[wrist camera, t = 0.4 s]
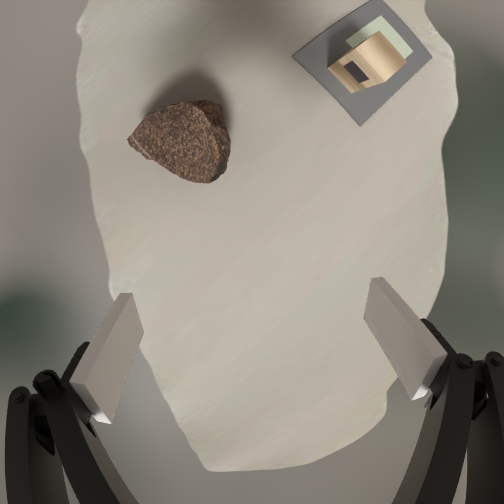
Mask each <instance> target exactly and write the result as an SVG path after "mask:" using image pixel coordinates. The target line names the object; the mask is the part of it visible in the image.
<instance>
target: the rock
mask: <svg viewBox="0 0 504 504" xmlns="http://www.w3.org/2000/svg"><path fill="white" fill-rule="evenodd" d="M127 140H128V142H129V145H130V146H131V147H133V148H134V149H135V150H136V151H138V152H140V153H141V154H142V155H143V156H144V157H145V158H146V159H150V160H154V161H155V162H157V163H158V164H159V165H161V166H163V167H165V168H166V169H168V170H169V171H170V172H172V173H173V174H176V175H178V176H179V177H181V178H183V179H186V180H188V181H192V182H197V183H211V182H213V181H215V180H216V179H218V178H219V177H220V175H221V174H223V173H224V172H225V171H226V169H227V162H228V157H229V155H230V142H231V141H230V138H229V135H228V133H227V129H226V126H225V122H224V117H223V110H222V107H221V106H220V105H219V104H215V103H213V102H211V101H207V100H202V101H194V102H190V101H183V102H180V103H179V104H176V105H175V104H172V105H169V106H167V107H163V108H159V109H156V111H155V112H154V113H151V114H149V115H148V116H146V117H145V118H144V120H143V121H142V122H141V123H140V124H139V125H138V127H137V128H136V129H135V131H134V132H133V133H132V134H131V136H130V137H129V138H128V139H127Z"/></svg>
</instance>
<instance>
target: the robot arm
mask: <svg viewBox="0 0 504 504" xmlns="http://www.w3.org/2000/svg"><path fill="white" fill-rule="evenodd" d="M363 318H364V320H365V321H366V323H367V325H368V326H369V328H370V330H371V331H372V333H373V334H374V336H375V338H376V339H377V341H378V343H379V344H380V346H381V348H382V349H383V351H384V353H385V354H386V356H387V358H388V359H389V361H390V363H391V365H392V366H393V368H394V370H395V372H396V373H397V375H398V377H399V378H400V380H401V382H402V384H403V386H404V387H405V389H406V391H407V393H408V395H409V397H410V398H411V400H414V399H417V398H420V397H423V396H425V394H426V392H427V391H428V389H429V387H430V389H431V391H432V392H433V393H432V394H431V396H430V397H429V399H428V401H427V402H426V404H425V406H424V407H426V406H427V404H428V407H427V411H426V415H425V419H424V422H423V426H422V429H421V432H420V435H419V439H418V442H417V445H416V447H415V450H414V453H413V456H412V459H411V461H410V464H409V466H408V469H407V471H406V474H405V476H404V479H403V481H402V483H401V485H400V488H399V490H398V492H397V494H396V496H395V498H394V500H393V502H392V504H452V501H453V498H454V495H455V492H456V488H457V485H458V482H459V478H460V475H461V471H462V467H463V463H464V458H465V453H466V449H467V490H466V501H465V504H504V357H503V356H502V355H501V354H500V353H498V352H494V351H492V352H489V353H487V355H486V357H485V358H484V360H479V361H473V360H472V358H471V357H469V356H468V355H466V354H461V353H459V354H457V353H456V352H455V351H454V349H452V347H451V346H450V344H449V343H448V342H447V341H446V340H445V338H444V337H442V335H441V334H440V332H439V331H437V329H436V328H435V326H434V325H433V324H432V323H430V322H429V321H427V320H426V319H424V318H423V319H419V318H418V316H417V315H416V314H415V313H414V312H413V311H412V309H411V308H410V307H409V306H408V305H407V304H406V302H405V301H404V300H403V299H402V298H401V297H400V296H399V295H398V293H397V292H396V291H395V290H394V289H393V288H392V287H391V286H390V284H389V283H388V282H387V281H386V280H385V279H384V278H383V277H378V278H371V282H370V288H369V293H368V298H367V303H366V308H365V313H364V317H363ZM143 334H144V330H143V327H142V324H141V321H140V318H139V314H138V311H137V308H136V304H135V301H134V297H133V294H132V293H120V294H119V296H118V297H117V299H116V300H115V302H114V304H113V305H112V307H111V309H110V310H109V312H108V313H107V315H106V316H105V318H104V320H103V321H102V323H101V325H100V326H99V328H98V330H97V332H96V333H95V335H94V337H93V339H92V340H91V342H84V343H83V344H82V345H81V346H80V347H79V348H78V349H77V351H76V352H75V354H74V357H73V358H72V359H71V361H70V363H69V365H68V366H67V368H66V370H65V372H64V374H63V376H62V378H61V379H60V378H59V377H58V375H57V374H56V372H54V371H53V370H44V371H42V372H40V373H38V374H37V375H36V376H35V378H34V380H33V387H34V388H35V390H36V391H37V393H38V394H31V393H30V391H29V390H28V389H27V388H26V387H23V386H20V387H17V388H16V389H14V390H13V391H12V392H11V394H10V396H9V401H8V410H7V419H6V434H5V477H6V490H7V500H8V504H69V500H68V496H67V491H66V486H65V481H64V475H63V469H62V465H63V467H64V470H65V472H66V475H67V477H68V479H69V482H70V484H71V486H72V488H73V490H74V493H75V494H76V497H77V499H78V500H79V503H80V504H139V503H138V502H137V501H136V499H135V498H134V496H133V495H132V493H131V492H130V491H129V489H128V488H127V486H126V484H125V483H124V481H123V480H122V478H121V477H120V475H119V473H118V472H117V470H116V468H115V467H114V465H113V463H112V461H111V460H110V458H109V456H108V454H107V452H106V450H105V449H104V447H103V445H102V443H101V441H100V439H99V437H98V435H97V433H96V431H95V429H94V426H93V425H92V423H91V422H90V418H91V415H93V416H94V417H95V418H96V420H97V421H99V422H104V423H109V424H112V421H113V418H114V415H115V412H116V409H117V406H118V403H119V400H120V396H121V394H122V391H123V388H124V385H125V382H126V379H127V376H128V373H129V371H130V368H131V365H132V363H133V360H134V357H135V355H136V352H137V349H138V347H139V344H140V342H141V339H142V336H143ZM487 394H488V398H487Z"/></svg>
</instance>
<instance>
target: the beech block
mask: <svg viewBox="0 0 504 504" xmlns="http://www.w3.org/2000/svg"><path fill="white" fill-rule="evenodd" d="M405 63H407V61H406V60H405V59H404V58H403V57H402V55H401V54H400V53H399V52H398V51H397V49H396V48H395V47H394V46H393V45H392V44H391V43H390V41H389V40H388V39H387V38H386V37H385V36H384V35H383V34H382V33H381V32H380V31H377V32H376V33H374V34H373V35H371V36H370V37H368V38H367V39H365V40H364V41H362V42H361V43H359V44H358V45H356V46H355V47H353V48H352V49H350V50H349V51H348V52H346V53H345V54H344V55H343V56H341V57H340V58H339V59H338V60H337V61H335V62H334V63H333V64H332V65H331V66H329V67H328V68H327V69H328V70H329V71H330V72H331V73H332V74H333V75H334V76H335V77H336V78H337V79H338V80H339V81H340V82H341V83H342V84H343V85H344V86H345V87H346V88H347V89H348V90H349V92H350V93H354V92H356V91H359V90H362V89H365V88H368V87H371V86H374V85H377V84H381V83H384V82H386V81H387V80H388V79H389V78H390V77H391V76H392V75H393V74H394V73H395V72H397V71H398V70H399V69H400V68H401V67H402V66H403V65H404V64H405Z"/></svg>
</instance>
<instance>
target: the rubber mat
mask: <svg viewBox="0 0 504 504" xmlns="http://www.w3.org/2000/svg"><path fill="white" fill-rule="evenodd" d="M377 31H380V32H381V33H382V34H383V35H384V36H385V37H386V38H387V39H388V40H389V41H390V43H391V44H392V45H393V46H394V47H395V48H396V49H397V51H398V52H399V53H400V54H401V55H402V57H403V58H404V59H405V60H406V61H407V63H405V64H404V65H403V66H402V67H401V68H400V69H399V70H398V71H397V72H395V73H394V74H393V75H392V76H391V77H390V78H389V79H388V80H387V81H386V82H384V83H381V84H377V85H374V86H371V87H368V88H365V89H362V90H359V91H356V92H354V93H350V92H349V90H348V89H347V88H346V87H345V86H344V85H343V84H342V83H341V82H340V81H339V80H338V79H337V78H336V77H335V76H334V75H333V74H332V73H331V72H330V71H329V70H328V69H327V68H328V67H329V66H331V65H332V64H333V63H334V62H335V61H337V60H338V59H339V58H340V57H341V56H343V55H344V54H345V53H346V52H348V51H349V50H350V49H352V48H353V47H355V46H356V45H358V44H359V43H361V42H362V41H364V40H365V39H367V38H368V37H370V36H371V35H373V34H374V33H376V32H377ZM292 58H293V59H295V60H296V61H297V62H298V63H299V64H300V65H301V66H302V67H303V68H305V69H306V70H307V71H308V72H309V73H310V74H311V75H312V76H313V77H314V78H315V79H316V80H317V81H318V82H319V83H320V84H321V85H322V86H323V87H324V88H325V89H326V90H327V91H328V92H329V93H330V94H331V95H332V96H333V97H334V98H335V99H336V100H337V101H338V102H339V104H340V105H341V106H342V107H343V108H344V109H345V110H346V111H347V112H348V113H349V115H350V116H351V117H352V118H353V119H354V120H355V121H356V123H357V124H358V125H359V126H362V125H363V124H364V123H365V122H366V121H367V120H368V119H369V118H370V117H371V116H372V115H373V114H374V113H375V112H376V111H377V110H378V109H379V108H380V107H381V106H382V105H383V104H384V103H385V102H386V101H387V100H388V99H389V98H390V97H391V96H393V95H394V94H395V93H396V92H397V91H398V90H399V89H400V88H401V87H402V86H403V85H404V84H405V83H406V82H407V81H408V80H409V79H410V78H411V77H412V76H413V75H414V74H415V73H417V72H418V71H419V70H420V69H421V68H422V67H423V66H424V65H425V64H426V63H427V62H428V61H429V60H430V59H431V58H432V56H431V54H430V53H429V52H428V50H427V49H426V48H425V47H424V45H423V44H422V43H421V42H420V40H419V39H418V38H417V37H416V35H415V34H414V33H413V32H412V31H411V30H410V28H409V27H408V26H407V25H406V24H405V23H404V22H403V21H402V20H401V18H400V17H399V16H398V15H397V14H396V13H395V12H394V11H393V10H392V9H391V8H390V7H389V6H388V5H387V4H386V3H385V2H384V1H383V0H371V1H369V2H368V3H366V4H365V5H363V6H361V7H360V8H358V9H357V10H355V11H354V12H352V13H351V14H349V15H348V16H346V17H345V18H343V19H342V20H340V21H339V22H337V23H336V24H335V25H333V26H332V27H330V28H329V29H328V30H326V31H325V32H323V33H322V34H321V35H319V36H318V37H317V38H315V39H314V40H313V41H312V42H310V43H309V44H308V45H306V46H305V47H304V48H303V49H301V50H300V51H299V52H298V53H296V54H295V55H294V56H293V57H292Z"/></svg>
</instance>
